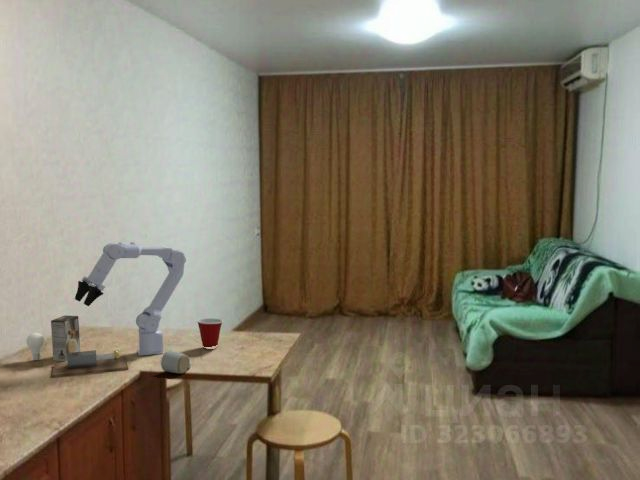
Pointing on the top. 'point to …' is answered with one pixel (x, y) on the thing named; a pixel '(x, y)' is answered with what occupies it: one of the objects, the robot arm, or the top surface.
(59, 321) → the coffee box
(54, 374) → the base board
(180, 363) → the ceramic mug
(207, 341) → the plastic cup
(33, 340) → the lightbulb
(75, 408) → the top surface
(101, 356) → the shaft
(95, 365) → the block
